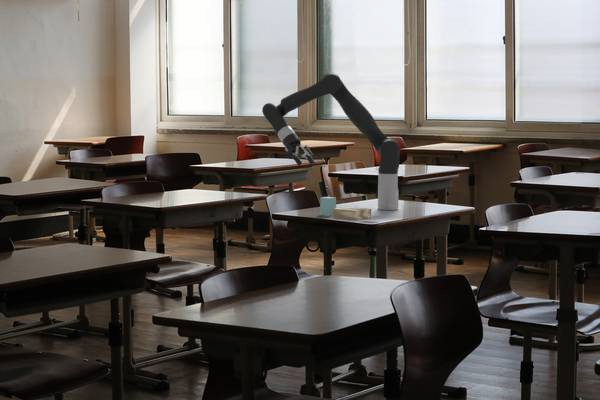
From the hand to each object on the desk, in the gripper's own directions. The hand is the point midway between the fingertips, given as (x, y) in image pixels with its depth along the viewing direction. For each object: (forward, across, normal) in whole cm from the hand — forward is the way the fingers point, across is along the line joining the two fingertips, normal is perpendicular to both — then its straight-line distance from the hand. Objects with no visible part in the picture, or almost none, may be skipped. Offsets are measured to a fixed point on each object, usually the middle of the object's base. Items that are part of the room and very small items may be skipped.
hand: (306, 164), depth 459 cm
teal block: (+25, 0, +6) cm, 26 cm away
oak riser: (+35, 0, -3) cm, 35 cm away
